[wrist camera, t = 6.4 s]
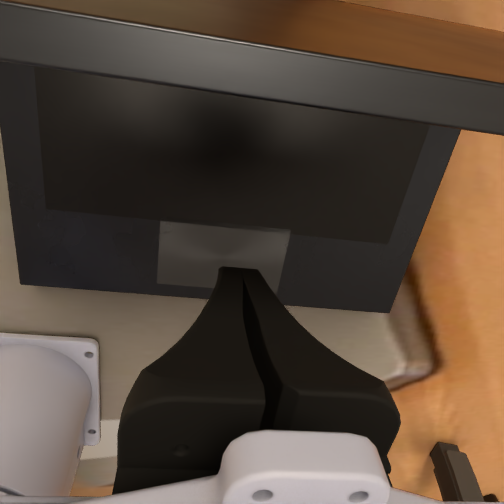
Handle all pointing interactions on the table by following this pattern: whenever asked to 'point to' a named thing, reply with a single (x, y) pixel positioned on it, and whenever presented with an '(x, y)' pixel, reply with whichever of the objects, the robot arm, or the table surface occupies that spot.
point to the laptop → (211, 190)
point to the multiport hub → (490, 498)
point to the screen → (274, 53)
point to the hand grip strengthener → (455, 474)
